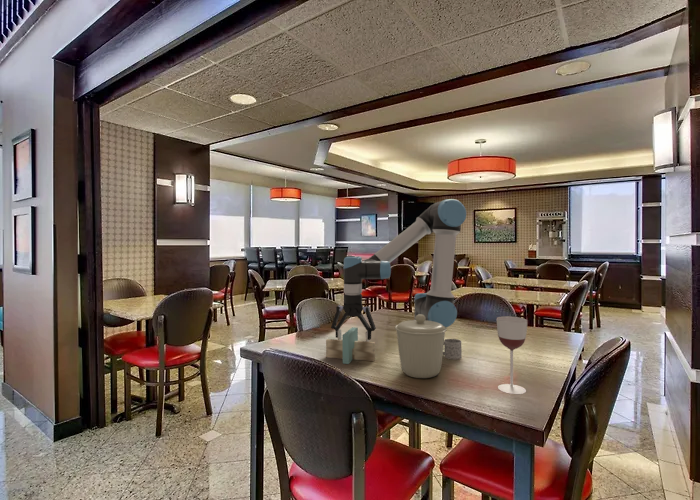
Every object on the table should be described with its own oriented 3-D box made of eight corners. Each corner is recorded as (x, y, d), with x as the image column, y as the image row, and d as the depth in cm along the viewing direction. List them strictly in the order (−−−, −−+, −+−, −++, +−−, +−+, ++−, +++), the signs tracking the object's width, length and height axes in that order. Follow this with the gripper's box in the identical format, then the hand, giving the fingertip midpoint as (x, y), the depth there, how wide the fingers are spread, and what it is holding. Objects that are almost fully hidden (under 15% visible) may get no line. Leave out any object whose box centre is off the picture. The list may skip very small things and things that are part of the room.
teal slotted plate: (357, 353, 159) (357, 327, 159) (348, 364, 146) (348, 335, 146) (352, 353, 160) (352, 327, 160) (342, 363, 147) (342, 335, 146)
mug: (461, 355, 156) (461, 339, 156) (461, 360, 149) (461, 343, 149) (436, 353, 159) (436, 337, 158) (435, 358, 152) (435, 341, 152)
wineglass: (520, 383, 124) (520, 316, 124) (532, 395, 114) (531, 322, 114) (493, 382, 125) (493, 316, 125) (501, 394, 115) (501, 322, 115)
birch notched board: (375, 359, 151) (375, 342, 151) (374, 361, 149) (374, 343, 149) (327, 355, 157) (327, 339, 157) (326, 357, 155) (326, 340, 155)
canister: (411, 362, 147) (411, 308, 147) (455, 372, 136) (455, 313, 135) (385, 375, 133) (384, 315, 133) (432, 387, 122) (431, 321, 121)
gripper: (382, 293, 157) (383, 346, 158) (328, 291, 164) (329, 342, 164) (379, 295, 150) (379, 350, 150) (322, 294, 156) (323, 347, 157)
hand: (353, 346), depth 157 cm, fingers open, 11 cm apart
